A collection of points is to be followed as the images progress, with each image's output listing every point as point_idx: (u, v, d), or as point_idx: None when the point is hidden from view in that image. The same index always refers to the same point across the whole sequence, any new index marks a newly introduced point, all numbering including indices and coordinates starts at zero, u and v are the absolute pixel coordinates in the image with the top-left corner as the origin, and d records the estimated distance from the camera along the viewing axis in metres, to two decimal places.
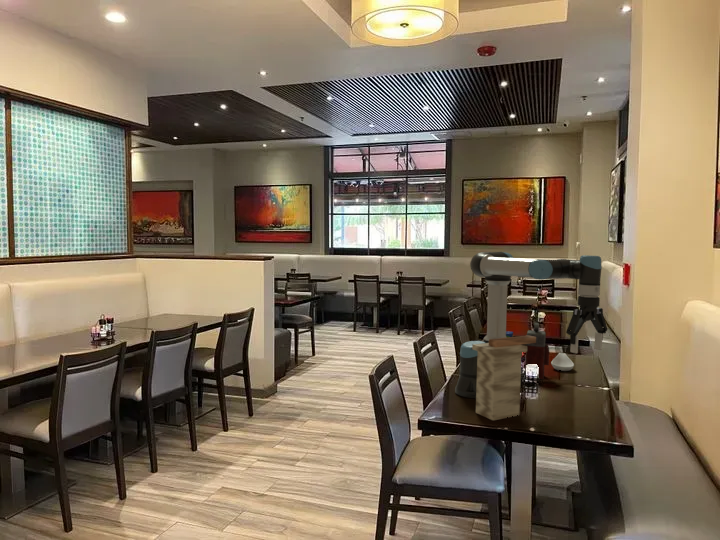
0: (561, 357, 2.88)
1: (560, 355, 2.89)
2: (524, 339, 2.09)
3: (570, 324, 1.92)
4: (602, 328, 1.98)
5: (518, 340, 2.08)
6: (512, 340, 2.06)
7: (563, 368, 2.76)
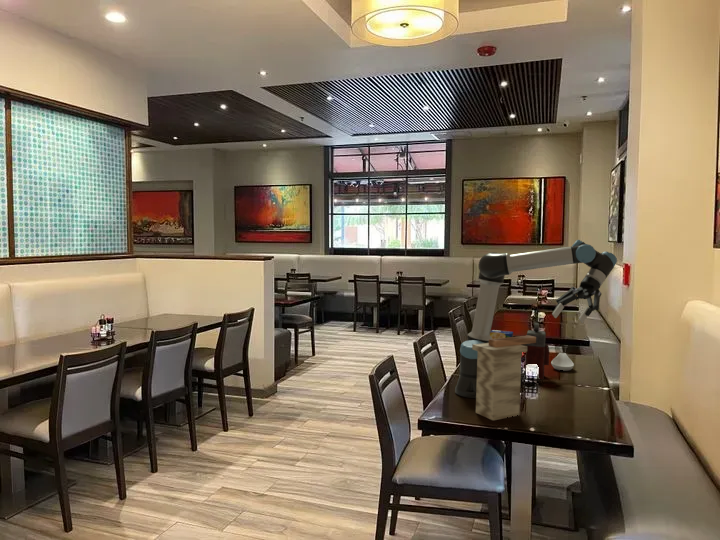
0: (561, 357, 2.88)
1: (560, 355, 2.90)
2: (524, 339, 2.09)
3: (597, 300, 2.11)
4: None
5: (518, 340, 2.08)
6: (512, 340, 2.06)
7: (563, 368, 2.76)
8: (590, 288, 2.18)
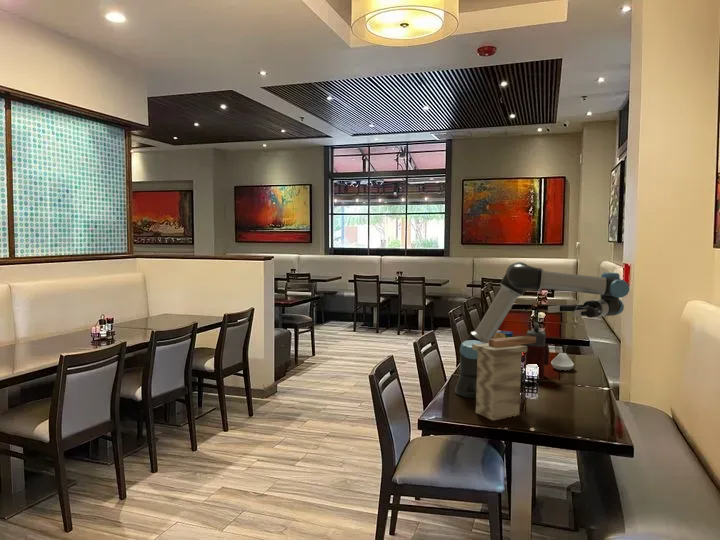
0: (561, 357, 2.89)
1: (560, 355, 2.90)
2: (524, 339, 2.09)
3: (596, 311, 2.14)
4: None
5: (518, 340, 2.08)
6: (512, 340, 2.06)
7: (563, 368, 2.77)
8: (592, 307, 2.23)
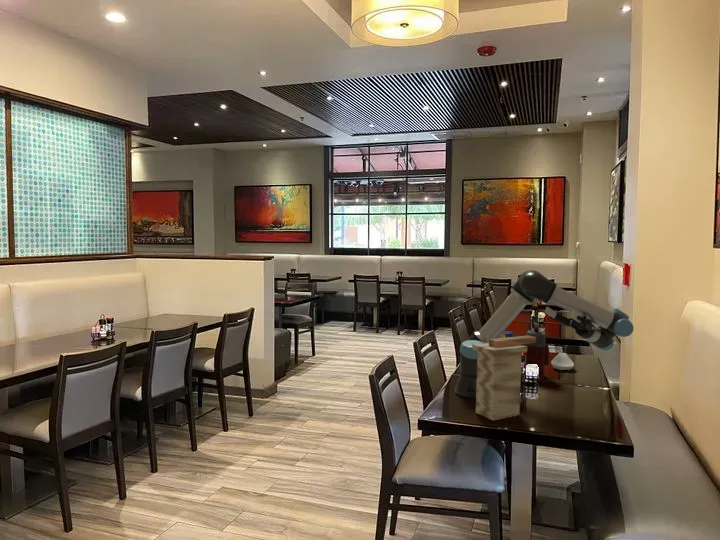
0: (561, 357, 2.89)
1: (560, 355, 2.90)
2: (524, 339, 2.09)
3: (591, 323, 2.16)
4: (556, 319, 2.29)
5: (518, 340, 2.08)
6: (512, 340, 2.06)
7: (563, 368, 2.77)
8: None
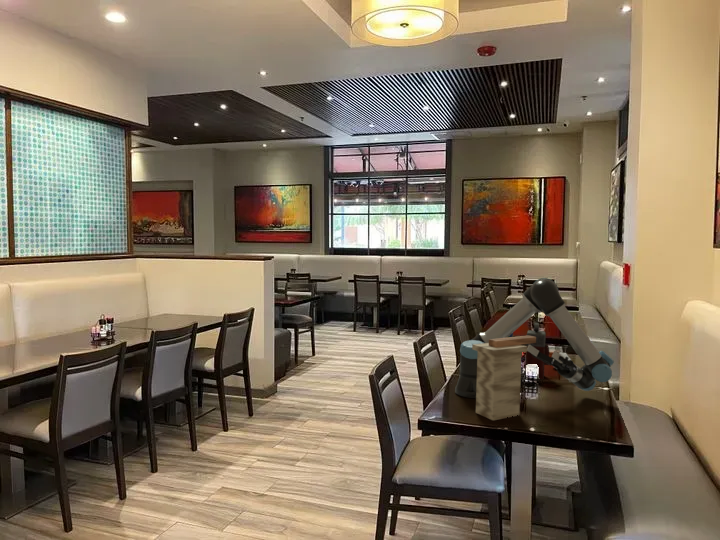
0: None
1: (560, 354, 2.91)
2: (524, 339, 2.09)
3: (572, 364, 2.14)
4: (538, 357, 2.27)
5: (518, 340, 2.08)
6: (512, 340, 2.06)
7: None
8: None
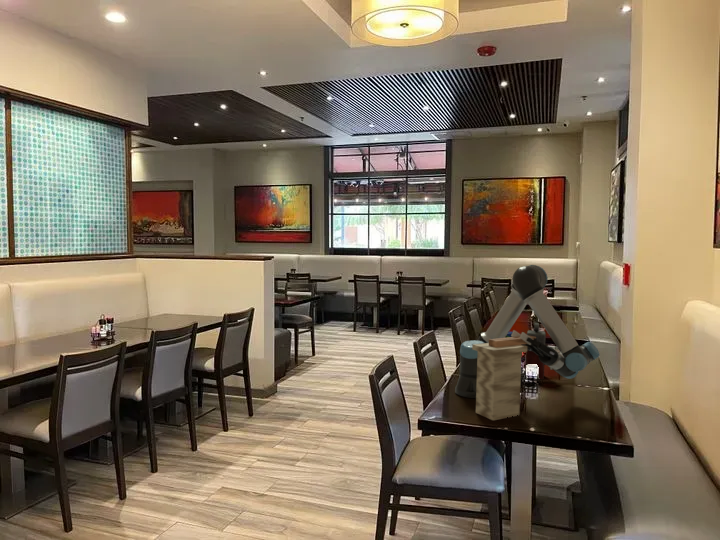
0: None
1: None
2: None
3: (544, 346, 2.10)
4: (522, 344, 2.16)
5: (518, 340, 2.08)
6: (512, 340, 2.06)
7: None
8: None
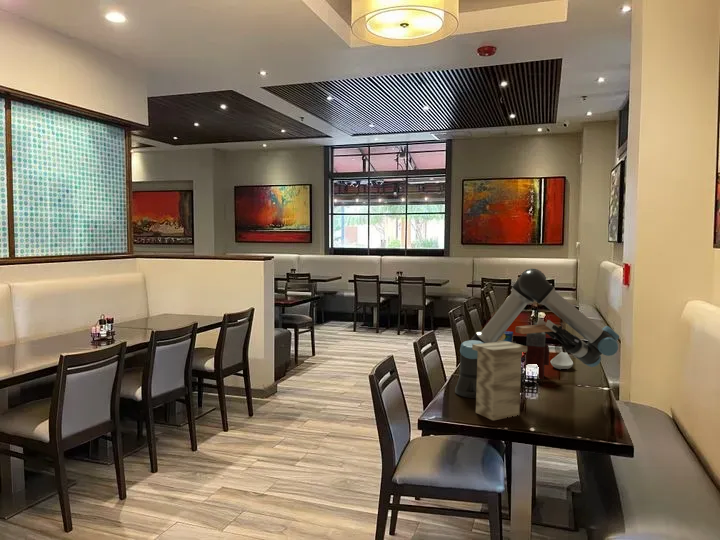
0: (562, 356, 2.91)
1: (561, 354, 2.92)
2: None
3: (569, 334, 2.15)
4: (547, 332, 2.22)
5: (544, 327, 2.13)
6: (538, 327, 2.12)
7: (561, 366, 2.79)
8: None
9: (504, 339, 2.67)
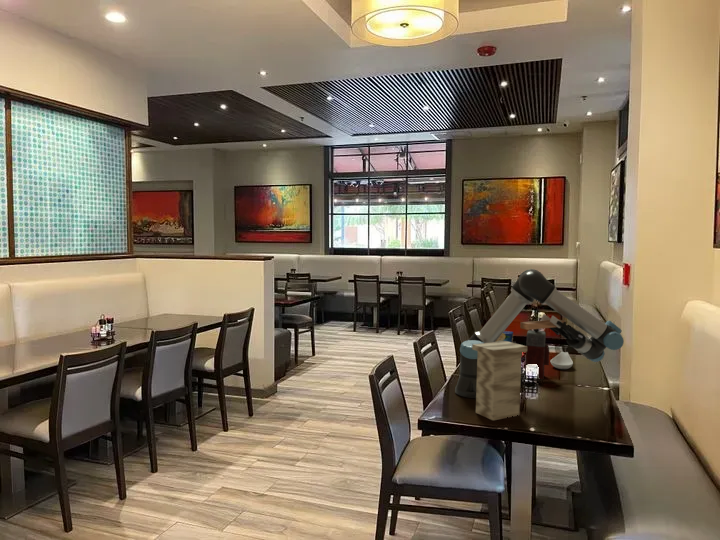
0: (562, 356, 2.92)
1: (562, 354, 2.93)
2: None
3: (573, 329, 2.17)
4: None
5: (548, 323, 2.15)
6: (543, 323, 2.14)
7: (560, 366, 2.80)
8: None
9: (504, 339, 2.67)
